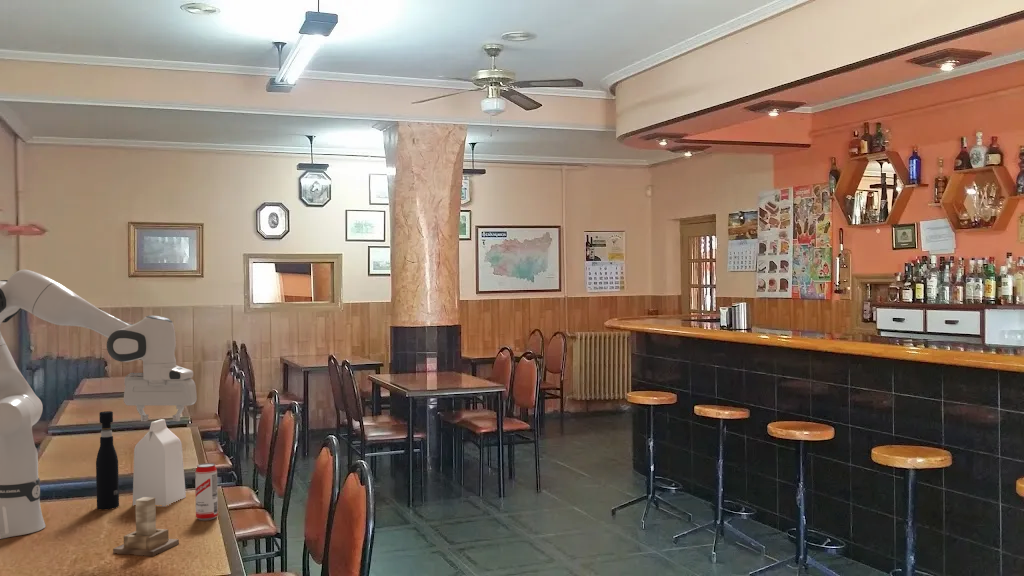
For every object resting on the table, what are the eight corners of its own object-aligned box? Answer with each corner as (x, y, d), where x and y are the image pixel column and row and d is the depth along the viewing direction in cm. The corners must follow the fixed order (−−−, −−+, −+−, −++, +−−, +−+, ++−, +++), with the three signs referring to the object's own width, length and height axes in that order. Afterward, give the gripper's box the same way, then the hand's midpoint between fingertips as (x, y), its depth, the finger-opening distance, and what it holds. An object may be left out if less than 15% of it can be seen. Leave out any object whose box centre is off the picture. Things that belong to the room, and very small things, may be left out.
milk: (166, 506, 286) (164, 424, 285) (132, 505, 287) (131, 423, 287) (185, 497, 297) (184, 418, 297) (153, 496, 299) (151, 417, 299)
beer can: (211, 521, 267) (210, 467, 267) (191, 520, 268) (190, 466, 268) (222, 515, 273) (221, 462, 273) (203, 515, 274) (202, 462, 274)
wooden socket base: (113, 553, 237) (112, 537, 237) (140, 541, 248) (139, 525, 248) (153, 556, 234) (153, 540, 234) (178, 543, 245) (178, 528, 245)
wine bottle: (98, 505, 287) (96, 411, 287) (120, 503, 289) (118, 410, 289) (95, 510, 281) (93, 414, 281) (117, 508, 283) (116, 413, 283)
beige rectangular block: (136, 545, 240) (135, 500, 240) (144, 541, 243) (143, 497, 243) (147, 546, 239) (147, 500, 239) (156, 542, 242) (155, 497, 242)
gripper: (119, 373, 256) (119, 422, 256) (189, 373, 255) (190, 422, 255) (130, 371, 263) (130, 419, 263) (198, 371, 261) (199, 419, 261)
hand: (160, 421), depth 259 cm, fingers open, 8 cm apart
